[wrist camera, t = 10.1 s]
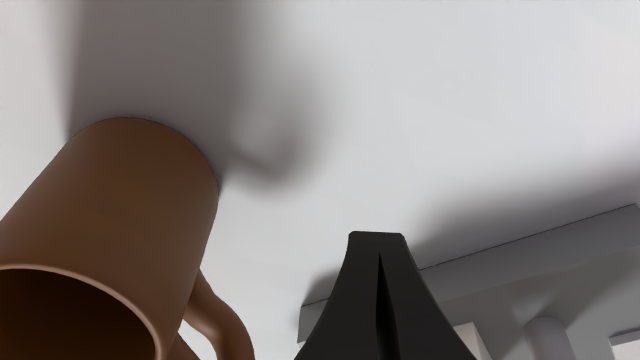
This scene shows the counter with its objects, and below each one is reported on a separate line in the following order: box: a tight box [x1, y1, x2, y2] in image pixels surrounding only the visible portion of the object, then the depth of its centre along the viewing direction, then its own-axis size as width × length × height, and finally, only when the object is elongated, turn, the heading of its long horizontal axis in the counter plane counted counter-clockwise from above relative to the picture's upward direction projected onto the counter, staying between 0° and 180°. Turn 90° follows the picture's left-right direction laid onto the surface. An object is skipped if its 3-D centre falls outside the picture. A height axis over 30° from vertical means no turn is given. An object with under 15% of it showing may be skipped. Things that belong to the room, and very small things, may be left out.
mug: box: [0, 118, 255, 360], centre depth 23 cm, size 12×8×9 cm, turn 45°
